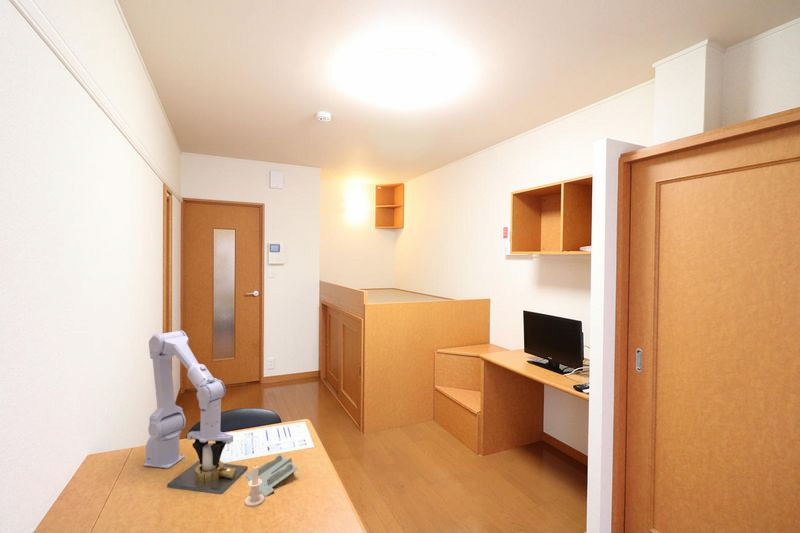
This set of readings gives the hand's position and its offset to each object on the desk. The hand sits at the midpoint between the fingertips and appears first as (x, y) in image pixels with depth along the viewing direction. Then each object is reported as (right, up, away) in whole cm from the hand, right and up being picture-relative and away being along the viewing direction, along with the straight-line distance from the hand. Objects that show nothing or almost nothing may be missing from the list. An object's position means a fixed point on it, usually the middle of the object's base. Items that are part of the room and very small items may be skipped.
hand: (209, 463), depth 122 cm
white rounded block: (0, -2, 0) cm, 2 cm away
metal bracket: (+20, -6, +1) cm, 21 cm away
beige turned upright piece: (+18, -5, -11) cm, 22 cm away
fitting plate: (0, -5, 0) cm, 5 cm away
